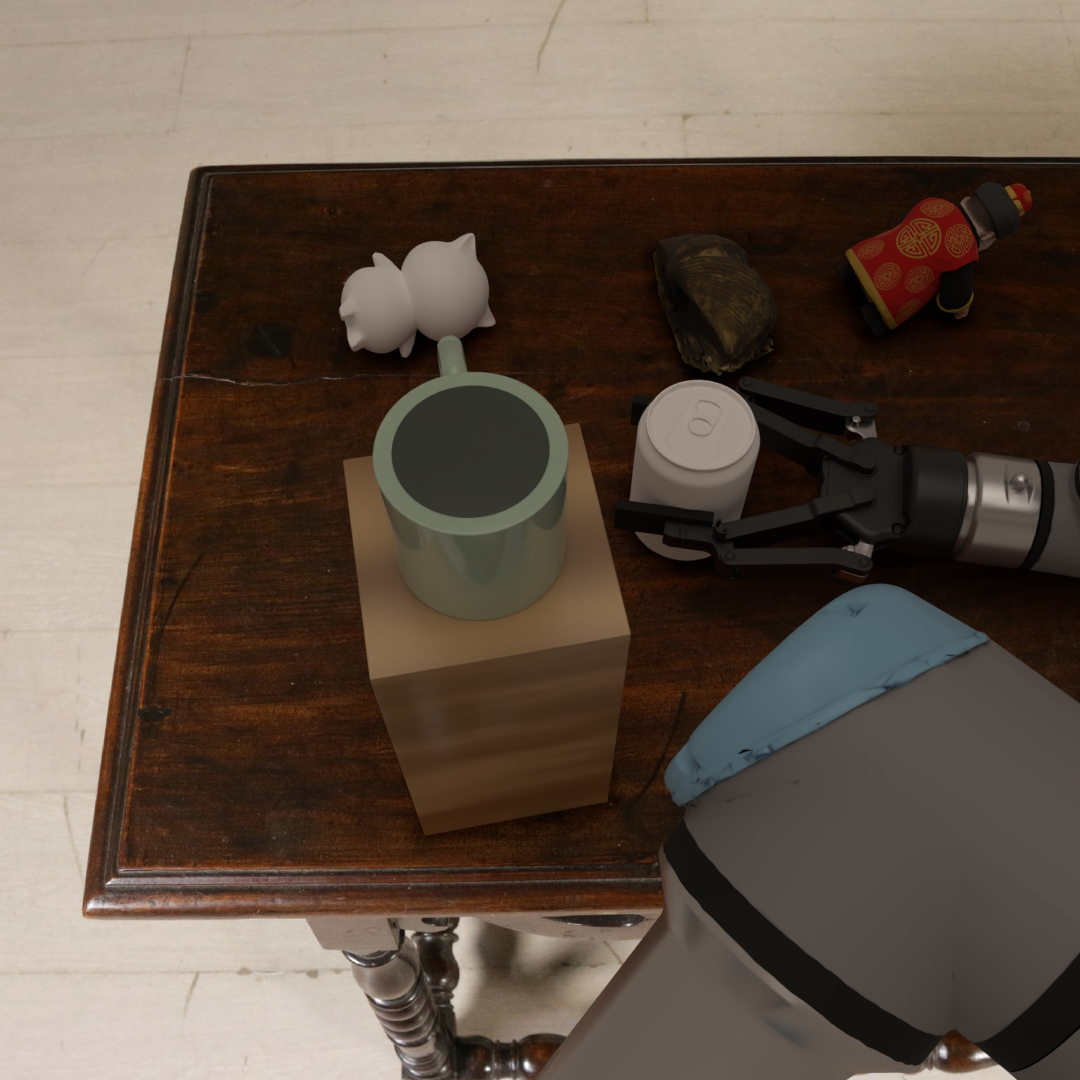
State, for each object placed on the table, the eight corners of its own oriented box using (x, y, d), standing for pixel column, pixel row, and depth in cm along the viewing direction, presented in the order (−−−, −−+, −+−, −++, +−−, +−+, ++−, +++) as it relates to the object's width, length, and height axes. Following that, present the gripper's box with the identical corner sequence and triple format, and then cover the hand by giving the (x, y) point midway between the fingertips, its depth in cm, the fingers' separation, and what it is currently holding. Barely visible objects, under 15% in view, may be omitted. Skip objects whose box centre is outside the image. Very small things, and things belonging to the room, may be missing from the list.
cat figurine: (329, 280, 85) (484, 234, 87) (316, 248, 95) (456, 208, 96) (363, 388, 90) (511, 343, 91) (348, 348, 99) (482, 308, 100)
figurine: (894, 372, 98) (1066, 275, 93) (873, 331, 89) (1061, 221, 85) (842, 284, 101) (1006, 186, 97) (817, 236, 93) (994, 127, 88)
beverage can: (611, 542, 85) (620, 451, 75) (650, 457, 89) (664, 358, 78) (716, 580, 84) (740, 493, 73) (752, 492, 87) (779, 396, 77)
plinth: (607, 802, 76) (631, 634, 53) (424, 836, 75) (369, 679, 52) (571, 636, 82) (579, 422, 59) (401, 666, 81) (342, 459, 58)
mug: (582, 604, 54) (586, 516, 47) (406, 634, 53) (384, 549, 46) (536, 404, 60) (534, 298, 52) (377, 429, 59) (353, 325, 52)
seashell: (623, 253, 99) (647, 188, 93) (719, 251, 101) (748, 188, 96) (681, 404, 90) (710, 343, 85) (783, 398, 93) (819, 339, 87)
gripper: (971, 349, 81) (645, 309, 83) (976, 618, 71) (605, 565, 73) (940, 413, 87) (638, 374, 89) (940, 667, 77) (600, 617, 79)
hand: (624, 460), depth 81 cm, fingers closed on beverage can, 8 cm apart
